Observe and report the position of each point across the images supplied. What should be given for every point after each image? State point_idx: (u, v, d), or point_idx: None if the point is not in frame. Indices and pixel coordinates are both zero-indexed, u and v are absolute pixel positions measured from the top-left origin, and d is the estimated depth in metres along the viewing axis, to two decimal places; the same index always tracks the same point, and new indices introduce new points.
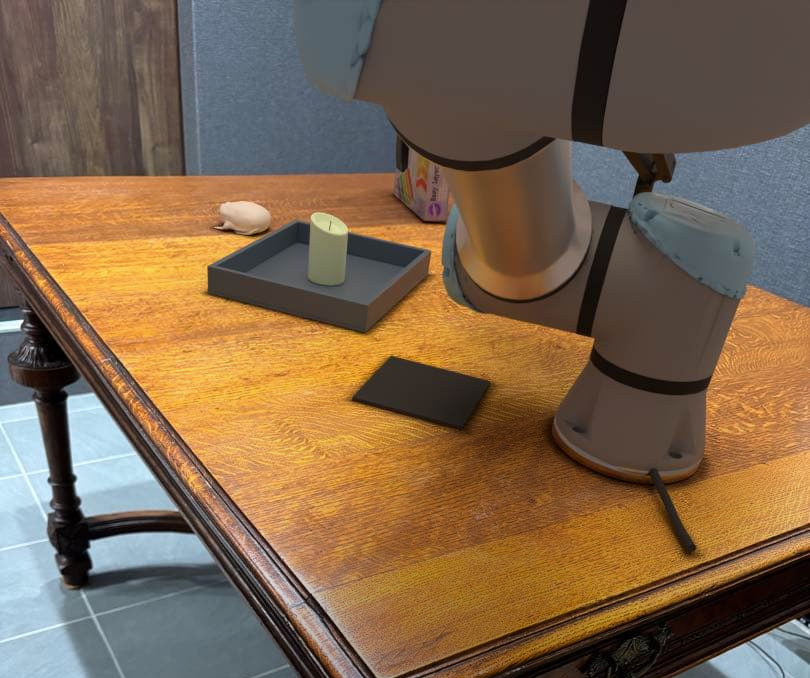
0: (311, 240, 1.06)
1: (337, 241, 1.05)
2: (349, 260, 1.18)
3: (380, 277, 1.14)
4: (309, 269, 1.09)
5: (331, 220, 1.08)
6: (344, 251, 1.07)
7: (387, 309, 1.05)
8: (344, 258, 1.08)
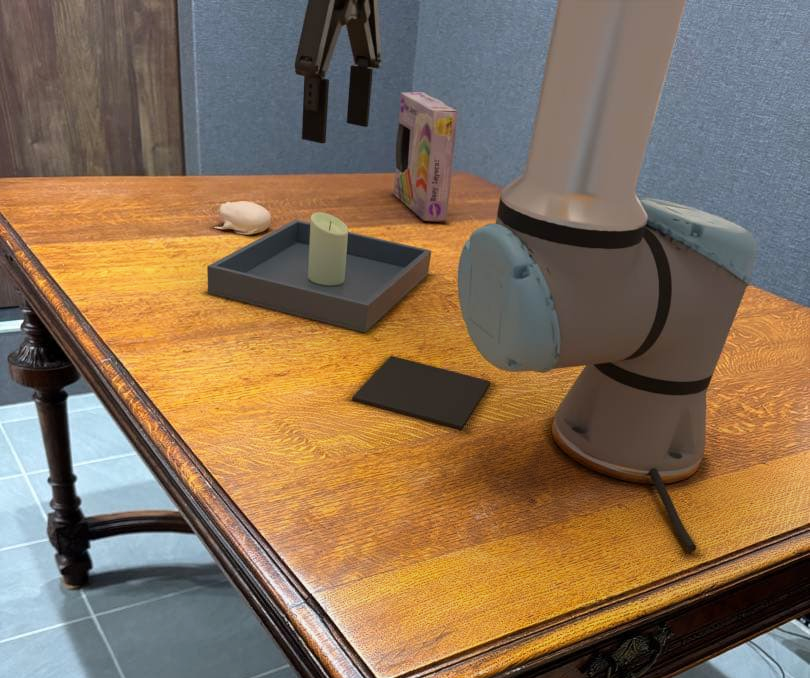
0: (311, 240, 1.06)
1: (337, 241, 1.05)
2: (349, 260, 1.18)
3: (380, 277, 1.14)
4: (309, 269, 1.09)
5: (331, 220, 1.08)
6: (344, 251, 1.07)
7: (387, 309, 1.05)
8: (344, 258, 1.08)
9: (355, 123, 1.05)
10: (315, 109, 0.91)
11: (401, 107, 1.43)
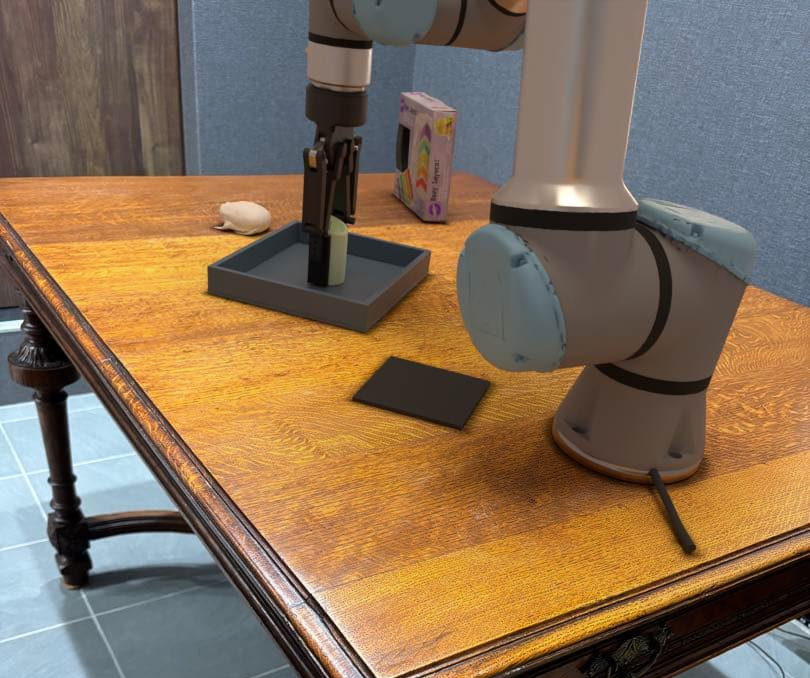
0: None
1: (337, 241, 1.05)
2: (349, 260, 1.18)
3: (380, 277, 1.14)
4: None
5: (331, 220, 1.08)
6: (344, 251, 1.07)
7: (387, 309, 1.05)
8: (344, 258, 1.08)
9: None
10: (319, 260, 1.05)
11: (401, 107, 1.43)
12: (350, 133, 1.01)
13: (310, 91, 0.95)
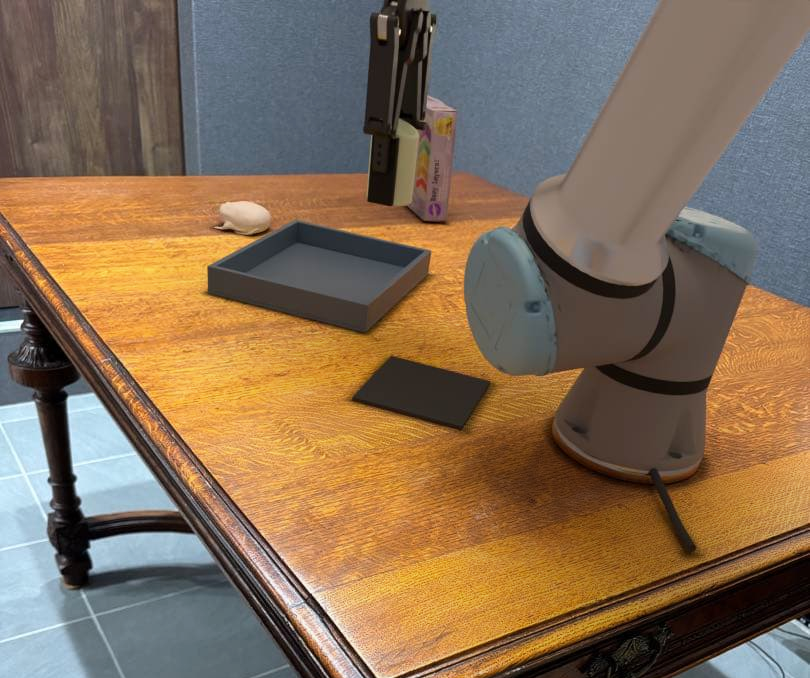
0: None
1: (407, 146, 0.83)
2: (349, 260, 1.18)
3: (380, 277, 1.14)
4: None
5: None
6: (414, 161, 0.85)
7: (387, 309, 1.05)
8: (413, 170, 0.86)
9: None
10: (384, 170, 0.83)
11: None
12: (425, 4, 0.80)
13: None
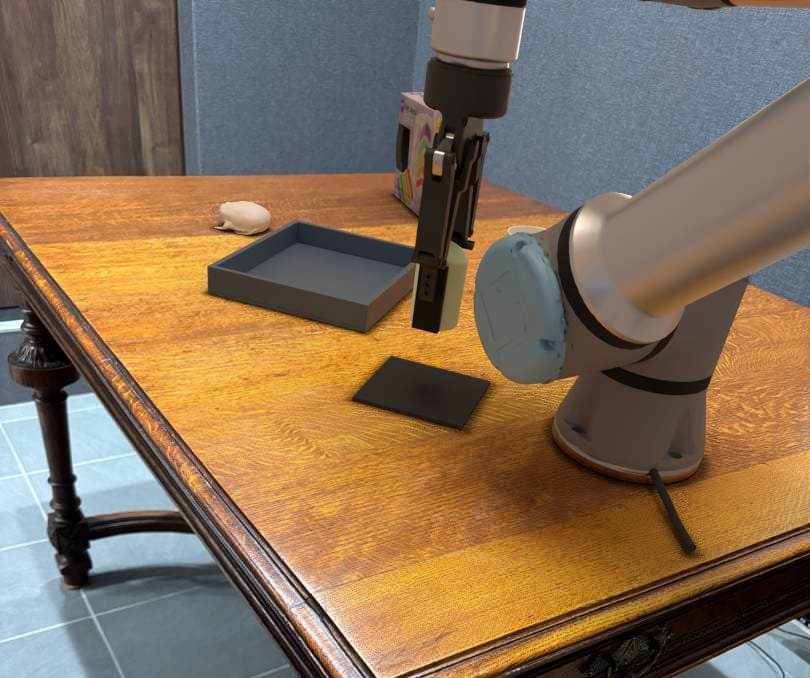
0: None
1: (456, 273, 0.78)
2: (349, 260, 1.18)
3: (380, 277, 1.14)
4: (413, 309, 0.81)
5: None
6: (462, 286, 0.80)
7: (387, 309, 1.05)
8: (461, 295, 0.81)
9: None
10: (432, 300, 0.78)
11: (401, 107, 1.43)
12: (480, 127, 0.74)
13: (436, 68, 0.68)
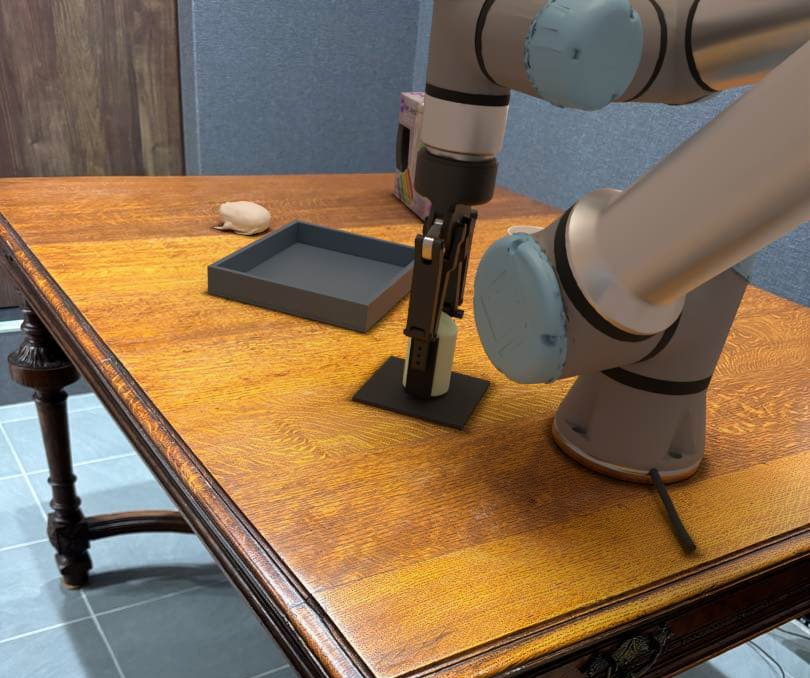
0: None
1: (446, 344, 0.82)
2: (349, 260, 1.18)
3: (380, 277, 1.14)
4: (406, 375, 0.85)
5: None
6: (452, 354, 0.84)
7: (387, 309, 1.05)
8: (451, 362, 0.85)
9: None
10: (423, 369, 0.82)
11: (401, 107, 1.43)
12: (468, 209, 0.78)
13: (425, 160, 0.72)
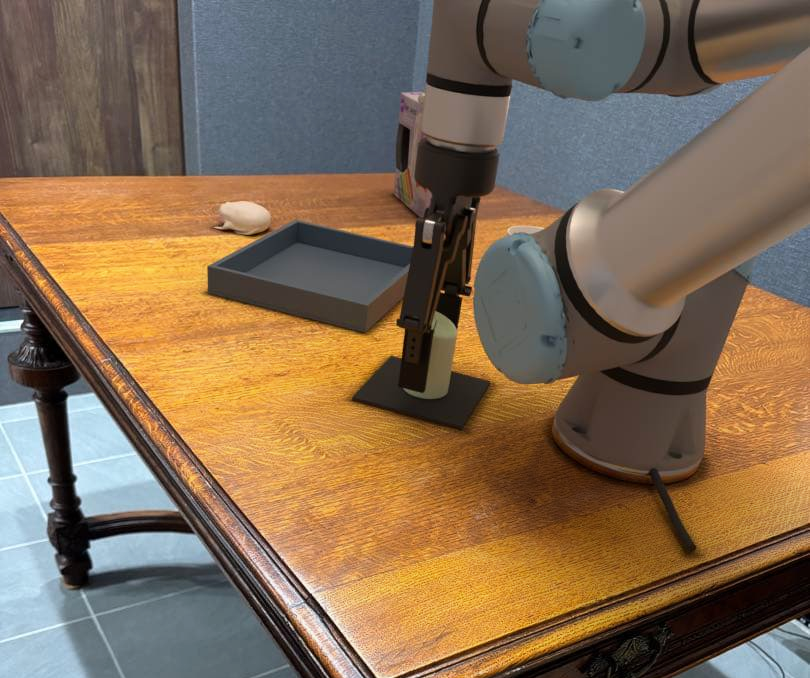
0: None
1: (445, 347, 0.82)
2: (349, 260, 1.18)
3: (380, 277, 1.14)
4: None
5: (435, 317, 0.85)
6: (452, 357, 0.84)
7: (387, 309, 1.05)
8: (451, 365, 0.85)
9: None
10: (417, 362, 0.79)
11: (401, 107, 1.43)
12: (468, 203, 0.78)
13: (426, 151, 0.71)
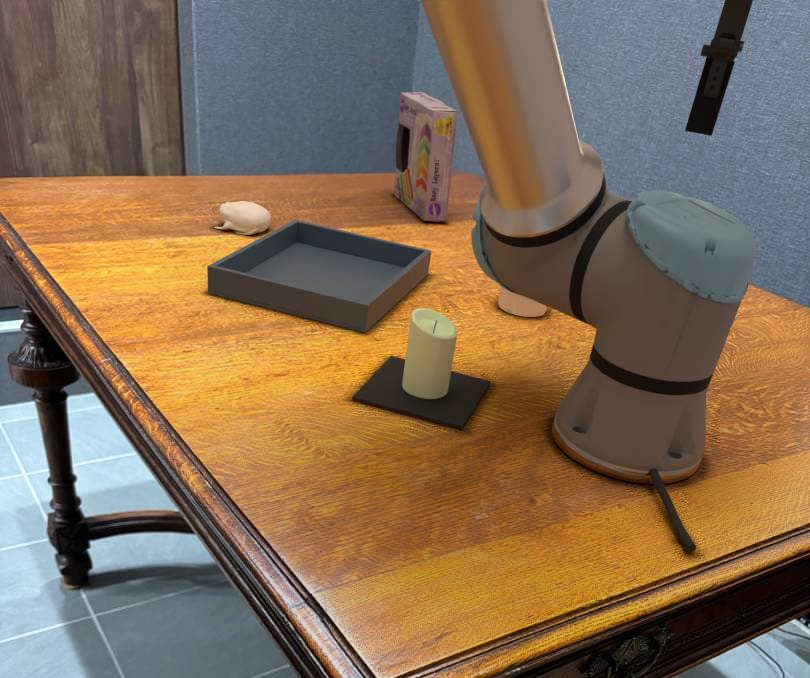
0: (411, 344, 0.83)
1: (445, 347, 0.82)
2: (349, 260, 1.18)
3: (380, 277, 1.14)
4: (405, 378, 0.86)
5: (435, 317, 0.85)
6: (452, 357, 0.84)
7: (387, 309, 1.05)
8: (451, 365, 0.85)
9: None
10: (716, 96, 0.79)
11: (401, 107, 1.43)
12: None
13: None
